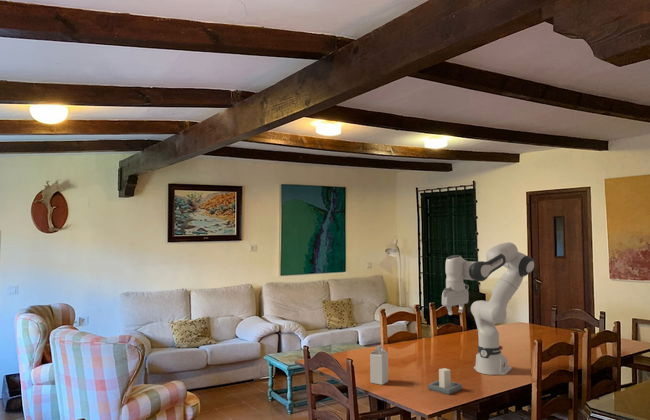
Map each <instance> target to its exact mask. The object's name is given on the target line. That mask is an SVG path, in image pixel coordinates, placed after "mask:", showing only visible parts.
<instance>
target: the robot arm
mask: <svg viewBox="0 0 650 420" xmlns="http://www.w3.org/2000/svg"><path fill="white" fill-rule="evenodd" d="M485 259H486V261H479V260H478V261H472V260H471V261H470V260H469V261H468V260H466V259H464V258H463V257H462V255H460V254H455V255H450V256H447V257H446V260H445V275H446V278H445V288H444V289H443V291H442V294H441V305H442V307H445V308H446V310H447V314H448V315H449V316H452V315H454V311H452V306H453V307H454V306H459V307H458V308H457V309H458V313H459V314H462V313H464V306H465V304H466V305H467V304H468V303H469V301H470V300H469V298H470V297H469V288H470V287H469V285H468V284H466V283H465V282H464V280H469V281H477V282H484V281H486V280H487V279H488V278H489V276H490V275H491V274H492V273H493V272H495V271H497V270H498V269H500V268H502V267H504V268H505V269H507V270H506V271H505V272H504V273H503V274H502V275H501V277H499V279H498V280H497V282H496V283H495V284H494V285H493V287H492V288H491V291H490V292H491V296H490V298H489V300H482V299H481V300H476V301H474V302H473V303H472V304H471V306H470V312H471V314H472V316H473V317H474V318H473V319H474V321H475V324H476V328H477V334H478V336H477V337H478V345H477V354H476V355H475V356H476V357H475V365H474V366H473V370H475V371H476V372H478V373H479V374H483V375H489V376H490V375H491V376H497V375H498V376H499V375H500V376H501V375H502V376H505V375H507V374H509V372H511V370H512V369H513V368H512V366H510V365H508V359H507V357H506V356H504V354H503V353H502V350H503V349H504V348H503V345H500V333H499V331H498V329H497V327H496V324H501V323H504V322H505V320H506V319H507V307H508V304H509V302H510V300H511V299H512V297H514V295H515V293H516V292H517V291H518V289H519V288H520V286H521V284H522V282H523V280H524V277H526V276H528V275H529V274H531V273H532V272H533V271H534V269H535V266H536V264H535V260H534V259H533V257H531V256H530V255H526V254H525V253H522V252H520V251H519V250H518V247H517V245H516V244H515V243H513V242H504V243H499V244H496V245H494V246H492V247H491V248H489V249H488V250H487V251H486V254H485Z"/></svg>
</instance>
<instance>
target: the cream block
mask: <svg viewBox="0 0 650 420" xmlns="http://www.w3.org/2000/svg"><path fill="white" fill-rule="evenodd" d="M451 377H452V376H451V369H449V368H446V367H444V368H443V367H442V368H439V369H438V380H439V387H443V388H447V389H449V388H451V382H452V381H451V379H452V378H451Z"/></svg>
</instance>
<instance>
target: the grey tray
mask: <svg viewBox="0 0 650 420" xmlns="http://www.w3.org/2000/svg"><path fill="white" fill-rule="evenodd" d="M427 386H428V387H427V390H429V391H433V392H436V393H440V394H444V395H448V396H450V395H452V394H454V393H457V392H459V391H462V389H463V384H462V383H458V382H455V381H451V388H449V389H447V388H443V387H439V379H438V380H436V381H432V382H431V383H428V384H427Z"/></svg>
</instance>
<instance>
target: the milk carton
mask: <svg viewBox="0 0 650 420" xmlns="http://www.w3.org/2000/svg"><path fill="white" fill-rule="evenodd" d="M369 361H370V363H369V366H370V367H369V371H370V374H369V375H370V378H369V379H370V383H371V384H376V385H380V386H381V385H385V384H387V383H388V382H389V353H388V351H387V350H386V349H385V348H384V347H383V344H380V345H378V346H376V347H375V349H374V350H373V351H372V352H371V353H370V354H369Z"/></svg>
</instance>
